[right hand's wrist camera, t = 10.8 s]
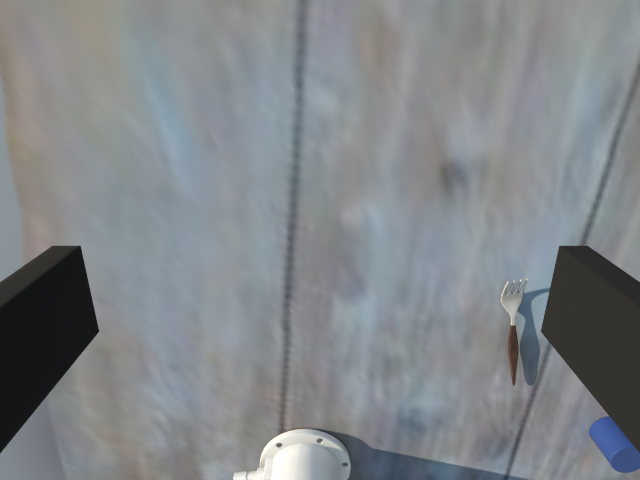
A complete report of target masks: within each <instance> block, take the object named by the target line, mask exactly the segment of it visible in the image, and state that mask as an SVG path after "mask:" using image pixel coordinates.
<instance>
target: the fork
mask: <svg viewBox="0 0 640 480" xmlns="http://www.w3.org/2000/svg"><path fill="white" fill-rule="evenodd" d="M521 281H522V280H520V281H519V283H518V285H517V287H516V289H515V291H514V292H513V293H512V289H513V286H514V283H515V280H514V282H513V283H512V285H511V287H510V289H509V292H508V293H506V289H507V286H508V283H509V281H508V282H507V284H506V286H505V288H504V290H503V292H502V295H501V303H502V305H503V307H504V308H505V309H506V310H507V312H508V313H509V314H510V316H511V327H510V334H509V343H508V352H509V359H510V366H511V375H512V383H513V385H515V379H516V368H517V360H518V340H517V333H516V326H515V315H516V312H517V310H518V308H519V306H520V304H521V301H522V299H523V294H524V289H525V286H526V283H527V281H528V278H527V279H526V281H525V283H524V285H523V287H522V289H521V290H520V291H519V292H518V289H519V286H520V283H521Z"/></svg>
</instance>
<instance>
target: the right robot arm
mask: <svg viewBox="0 0 640 480" xmlns="http://www.w3.org/2000/svg"><path fill="white" fill-rule="evenodd" d="M98 332H99V329H98V324H97V320H96V315H95V310H94V306H93V301H92V297H91V292H90V287H89V283H88V278H87V274H86V269H85V264H84V260H83V255H82V250H81V246H52V247H50V248H49V249H47V250H46V251H45V252H43V253H42V254H40V255H39V256H37V257H36V258H35V259H33V260H32V261H30V262H29V263H27V264H26V265H24V266H23V267H22V268H20V269H19V270H17V271H16V272H14V273H13V274H12V275H10V276H9V277H7V278H6V279H4V280H3V281H2V282H0V453H1V452H2V450H3V449H4V448H5V447H6V446H7V444H8V443H9V442H10V441H11V439H12V438H13V437H14V436H15V434H16V433H17V432H18V431H19V429H20V428H21V427H22V426H23V425H24V423H25V422H26V421H27V420H28V418H29V417H30V416H31V415H32V414H33V412H34V411H35V410H36V409H37V407H38V406H39V405H40V404H41V402H42V401H43V400H44V399H45V398H46V396H47V395H48V394H49V393H50V391H51V390H52V389H53V388H54V386H55V385H56V384H57V383H58V382H59V380H60V379H61V378H62V377H63V375H64V374H65V373H66V372H67V370H68V369H69V368H70V367H71V365H72V364H73V363H74V362H75V361H76V359H77V358H78V357H79V356H80V354H81V353H82V352H83V351H84V349H85V348H86V347H87V346H88V345H89V343H90V342H91V341H92V340H93V338H94V337H95V336H96V335H97V333H98ZM541 332H542V333H543V335H544V336H545V337H546V338H547V340H548V341H549V342H550V343H551V345H552V346H553V347H554V348H555V349H556V351H557V352H558V353H559V354H560V356H561V357H562V358H563V359H564V361H565V362H566V363H567V364H568V365H569V367H570V368H571V369H572V370H573V372H574V373H575V374H576V375H577V377H578V378H579V379H580V380H581V382H582V383H583V384H584V385H585V386H586V388H587V389H588V390H589V391H590V393H591V394H592V395H593V396H594V398H595V399H596V400H597V401H598V402H599V404H600V405H601V406H602V407H603V409H604V410H605V411H606V412H607V414H608V415H609V416H610V417H611V418H612V420H613V421H614V422H615V423H616V425H617V426H618V427H619V428H620V430H621V431H622V432H623V433H624V434H625V436H626V437H627V438H628V439H629V441H630V442H631V443H632V444H633V446H634V447H635V448H636V449H637V450H638V452H639V453H640V282H638V281H637V280H636V279H634V278H633V277H631V276H630V275H628V274H627V273H626V272H624V271H623V270H621V269H620V268H618V267H617V266H616V265H614V264H613V263H611V262H610V261H608V260H607V259H605V258H604V257H603V256H601V255H600V254H598V253H597V252H595V251H594V250H593V249H591V248H590V247H588V246H559V250H558V255H557V260H556V264H555V269H554V274H553V278H552V283H551V287H550V292H549V297H548V301H547V306H546V310H545V315H544V320H543V324H542V329H541Z"/></svg>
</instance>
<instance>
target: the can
mask: <svg viewBox="0 0 640 480" xmlns="http://www.w3.org/2000/svg"><path fill="white" fill-rule="evenodd" d="M590 436H591V438H592V439H593V441H594V442H595V444H596V445H597V446H598V448H599V449H600V451H601V452H602V453H603V455H604V456H605V457H606V459H607V460H608V462H609V463H610V464H611V466H612V467H613V468H614V469H615V470H616V471H618V472H623V473H627V472H633V471H636V470H638V469H639V468H640V453H639V452H638V450H637V449H636V448H635V447H634V446H633V444H632V443H631V442H630V441H629V439H628V438H627V437H626V436H625V434H624V433H623V432H622V431H621V430H620V428H619V427H618V426H617V425H616V423H615V422H614V421H613V420H612V418H611V417H604V418H601V419H599V420H597V421H596V422H595V423H594V424H593V425H592V426H591V428H590Z"/></svg>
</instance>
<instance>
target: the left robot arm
mask: <svg viewBox="0 0 640 480" xmlns="http://www.w3.org/2000/svg"><path fill="white" fill-rule="evenodd" d="M350 472H351V463H350V456H349V454H348V451H347V449H346V448H345V446H344V445H343V444H342V443H341V442H340V441H339V440H338V439H336V438H335V437H333V436H332V435H329V434H327V433H325V432H321V431H318V430H311V429H297V430H292V431H288V432H285V433H282V434H280V435H279V436H277V437H275V438H274V439H272V440H271V441H270V442H269V443H268V444H267V445H266V447H265V448H264V450H263V452H262V454H261V459H260V467H259V468H258V469H257V471H253V472H248V471H245V472H235V474H234V480H348V478H349V475H350Z"/></svg>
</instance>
